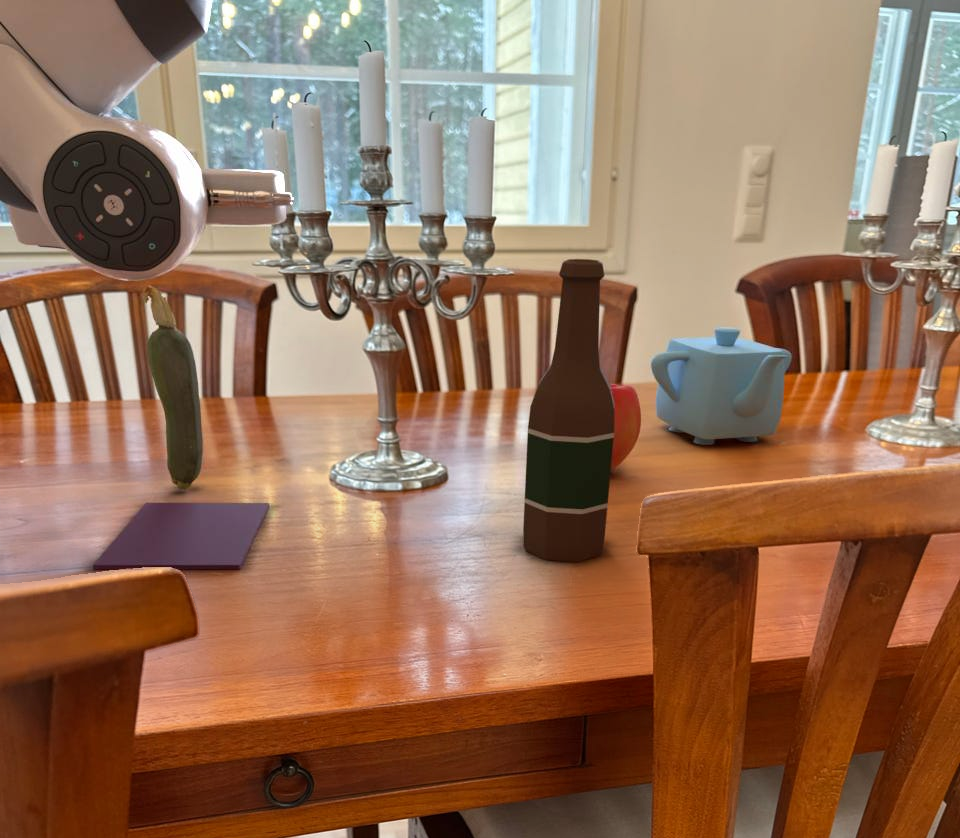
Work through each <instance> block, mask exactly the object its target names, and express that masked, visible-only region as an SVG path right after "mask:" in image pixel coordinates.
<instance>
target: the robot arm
mask: <svg viewBox="0 0 960 838" xmlns="http://www.w3.org/2000/svg"><path fill="white" fill-rule="evenodd" d="M212 3H213V0H0V202H1V203H3V204H5V205H6V206H7V210H8V215H9V220H10V224H11V225H12V227H13V230H14V232H15V236H16V238H17V241H18V242H19V243H20V244H23V245H25V246H38V247H39V248H49V249H50V248H51V249H59V250H65V251H66V252H68V253H69V254H70V255H71V256H72V257H73V258H74V259H76V260H77V261H79V262H80V263H81V264H83V265H84V266H86V267H87V268H89V269H90V270H92V271H95V272H97V273H98V274H101V275H103V276H105V277H109V278H112V279H116V280H120V281H125V282H126V281H127V282H138V281H146V280H150V279H154V278H157V277H159V276H162V275H165V274H166V273H169V272H170V271H172V270H174V269H176V268H177V267H178V266H179V265H181V264H182V263H183V262H184V261H185V260H186V259H187V258H188V257H189V256H190V254H191V253H192V252H193V250H194V249H195V247H196V245H197V244H198V242H199V241H200V239H201V237H202V235H203V234H204V231H205V229H206V226H207V225H209V226H210V225H211V226H212V225H213V226H271V225H279V224H282V223H284V222H285V221H286V219H287V206H288V207H289V206H293V202H294V197H292V196H293V194H292V193H291V192H286V187H285V186H286V185H285V177H284V174H283V173H282V172H281V171H277V170H261V169H228V168H227V169H226V168H200V166H199V164H198V163H197V161H196V160H195V158H194V157H193V155H192V154H191V153H190V152H189V151H188V149H187V148H186V147H185V146H184V145H182V144H181V143H180V142H179V141H178V140H177V139H175V138H174V137H173V136H171V135H169V134H168V133H166V132H164V131H162V130H160V129H158V128H156V127H153V126H151V125H149V124H147V123H144V122H141V121H139V120H135V119H132V118H126V117H119V116H107V115H109V114H110V112H112V111H113V110H114V109H115V108H116V107H117V106H118V105H119V104H120V103H121V102H122V101H123V100H124V99H126V97H127V96H128V95H130V94H131V93H132V92H133V91H134V90H135V89H136V88H137V87H138V86H139V85H141V83H143V82H144V81H145V80H146V78H148V77H149V76H150V75H151V74H152V73H153V72H154V71H155V70H157V68H159V66H161V65H167V64H168V63H169V62H170V61H172V60H174V58H176V57H177V56H178V55H180V54H181V53H182V52H183V51H184V50H186V49H187V48H189V47H190V46H191V45H193V44H194V43H195V42H196V41H198V40H199V39H201V38H202V37H203V36H204V35H206V34H208V27H209V23H210V19H211V18H210V17H211V10H212Z"/></svg>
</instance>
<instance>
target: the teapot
mask: <svg viewBox="0 0 960 838" xmlns="http://www.w3.org/2000/svg"><path fill="white" fill-rule="evenodd" d="M713 330H714V331H713V332H714V336H708V337H704V336H703V337H677V338H671V339H670V340H668V344H667V346H666V350H665V351H663V352H660V353H658V354H655V355H654V356H653V357H652V359H651V360H650V368H651V373H652V375H653V377H654V379H655V381H656V382H657V387H656V388H657V389H656V395H655V412H656V418H658V419H659V420H661V421H662V422H664V423H666V424H667V425H668V426H670V427H669V429H668V431H671V432H674V433H685V434H688V435H691V436H694V439H693V443H695V444H698V445H703V446H708V445H709V446H710V445H714V444H715V440H719V439H721V440H722V439H736V440H737V441H740V442H744V443H745V442H747V443H753V442H757V441H758V438H757V437H764V436H773V435H775V433H776V431H777V428H778V426H779V425H780V422H781V418H782V412H783V405H784V394H785V374H786V372H787V370H788V369H789V367H790V366H791V362H792V358H793V357H792V354H791V352H790V351H789V350H787V349H784V348H778V347H773V346H771V345H766V344H763V343H761V342H760V343H759V342H757V341H752V340H749V339H745V338H741V337H739V336H740V334H741V330H740V329H739V328H736V327H729V326H728V327H726V326H725V327H723V326H721V327H716V328H714V329H713Z"/></svg>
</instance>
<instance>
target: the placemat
mask: <svg viewBox="0 0 960 838" xmlns="http://www.w3.org/2000/svg"><path fill="white" fill-rule="evenodd" d="M269 508H270V503H269V502H145V503H144V504H143V506H142V507H141V508H140V509H139V510H138V512H136V514H135V515H134V516H133V517H132V518H131V520H130V521H129V522H128V523H127V524H126V526H124V528H123V529H121V532H120V533H119V534H118V535H117V536H116V537H115V539H114V540H113V541H112V542H111V543H110V545H108V547H107V548H106V549H105V550H104V551H103V553H102V554H101V555H100V556H99V557H98V559H96V561H94V563H93V564H92V568H93V570H127V569H126V568H142V567H172V568H176V569H175V570H241V568H242V566H243V563H244V562H245V559H246V557H247V555H248V553H249V550H250V549H251V546H252V544H253V542H254V540H255V538H256V536H257V534H258V531H259V529H260V528H261V525H262V523H263V521H264V518H265V517H266V514H267V512H268V511H269Z"/></svg>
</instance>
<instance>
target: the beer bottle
mask: <svg viewBox="0 0 960 838" xmlns="http://www.w3.org/2000/svg"><path fill="white" fill-rule="evenodd" d="M558 276H559V277H560V278H561V279H562V282H561V289H560V290H561V291H560V299H559V309H558V318H557V326H556V334H555V335H556V336H555V342H554V343H555V344H554V350H553V354H552V359H551V363H550V365H549V367H548V368H547V370H546V371H545V372H544V374H543V376H542V377H541V379H540V380H539V382H538V384H537V386H536V387H537V388H536V390H535V393H534V396H533V397H532V400H531V404H530V408H529V415H528V416H529V417H528V422H527V423H528V425H527V437H526V438H527V439H526V441H527V442H526V459H525V460H526V464H525V482H524V483H525V485H524V503H523V504H524V507H523V528H522V529H523V530H522V531H523V534H522V535H523V537H522V538H523V548H524V550H525V552H528V553H531V554H532V555H535V556H537V557H538V558H541V559H543V560H545V561H555V562H571V563H578V562H582V561H587V560H589V559H592V558H596V557H600V556H601V554H602V553H603V550H604V544H605V536H606V529H607V528H606V527H607V518H608V516H607V515H608V505H609V494H610V483H611V473H612V471H611V462H612V451H613V440H614V414H615V407H614V399H613V395H612V391H611V387H610V384H609V383H610V382H609V379H608V378H607V376H606V374H605V372H604V370H603V369H602V366H601V361H600V359H601V358H600V347H599V346H600V345H599V344H600V305H601V303H600V302H601V280H602V279H604V277H605V270H604V264H603V262H602V261H600V260H598V259H589V258H587V259H586V258H568V259H566V260H564V261H563V262H562V263H561V266H560V270H559V273H558Z"/></svg>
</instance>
